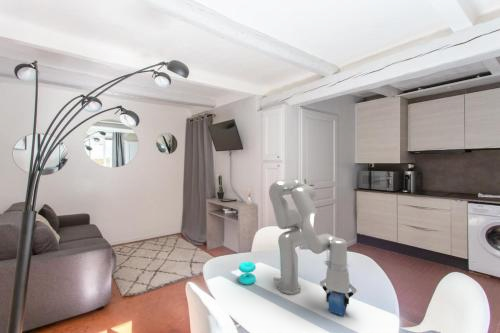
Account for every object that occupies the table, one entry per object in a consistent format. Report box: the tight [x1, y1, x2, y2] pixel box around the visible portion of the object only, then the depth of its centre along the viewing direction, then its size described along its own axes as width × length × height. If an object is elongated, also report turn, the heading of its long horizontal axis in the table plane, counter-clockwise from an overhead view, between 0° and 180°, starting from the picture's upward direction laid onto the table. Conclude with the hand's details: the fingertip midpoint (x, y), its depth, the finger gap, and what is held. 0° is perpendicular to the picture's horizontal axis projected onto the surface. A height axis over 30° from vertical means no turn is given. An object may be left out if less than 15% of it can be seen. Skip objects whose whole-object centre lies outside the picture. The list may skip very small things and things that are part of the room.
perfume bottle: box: [327, 291, 347, 316], centre depth 115 cm, size 6×6×12 cm
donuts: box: [238, 261, 257, 286], centre depth 145 cm, size 10×10×10 cm
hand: (337, 302), depth 115 cm, fingers closed on perfume bottle, 7 cm apart
